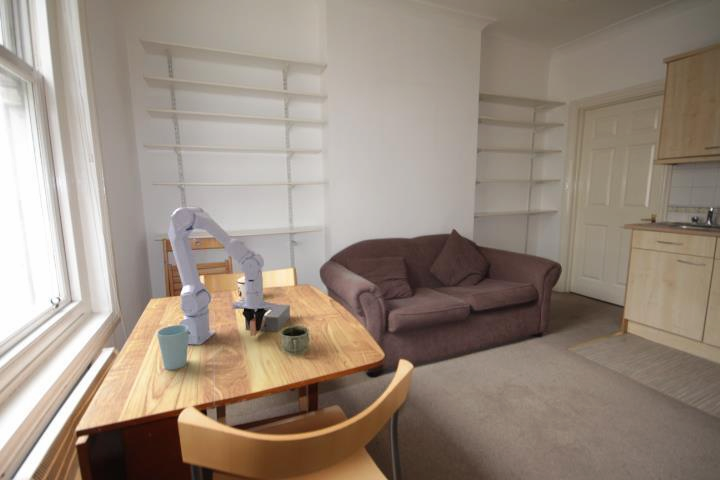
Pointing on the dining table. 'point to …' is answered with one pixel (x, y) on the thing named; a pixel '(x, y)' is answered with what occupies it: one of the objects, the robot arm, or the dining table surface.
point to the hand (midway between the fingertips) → (255, 329)
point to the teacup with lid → (241, 288)
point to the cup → (173, 346)
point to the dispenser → (275, 318)
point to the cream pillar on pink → (253, 324)
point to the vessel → (294, 339)
